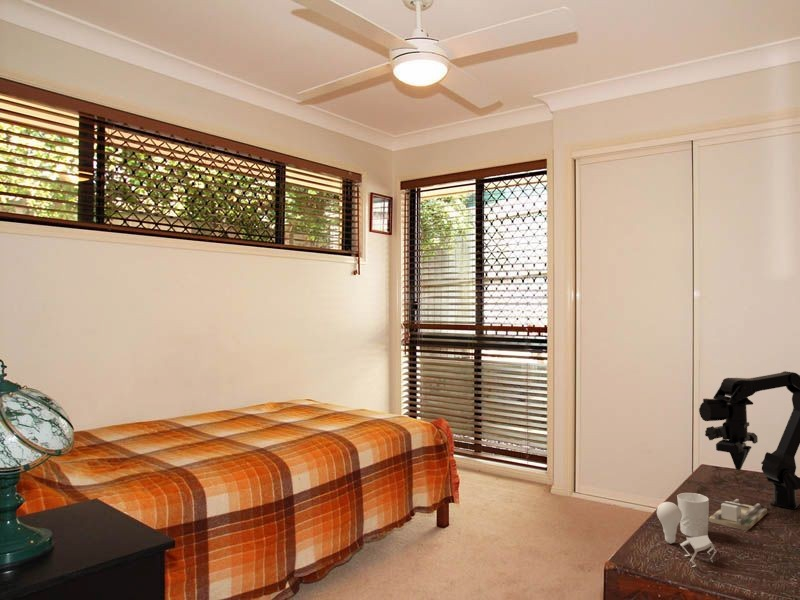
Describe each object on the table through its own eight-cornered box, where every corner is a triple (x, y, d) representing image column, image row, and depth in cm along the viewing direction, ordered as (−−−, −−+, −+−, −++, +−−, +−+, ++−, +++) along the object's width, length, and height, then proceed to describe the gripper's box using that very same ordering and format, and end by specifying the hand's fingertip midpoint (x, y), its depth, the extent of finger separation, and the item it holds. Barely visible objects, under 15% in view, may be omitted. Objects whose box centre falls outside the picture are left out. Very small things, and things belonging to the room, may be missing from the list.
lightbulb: (685, 548, 149) (684, 506, 150) (661, 547, 151) (659, 506, 151) (679, 539, 155) (677, 498, 155) (655, 538, 157) (653, 498, 157)
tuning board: (730, 505, 178) (730, 497, 178) (767, 513, 171) (766, 505, 171) (709, 521, 166) (708, 513, 166) (747, 530, 159) (746, 522, 159)
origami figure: (680, 549, 150) (679, 530, 150) (716, 554, 146) (716, 535, 146) (678, 568, 139) (678, 548, 139) (717, 575, 135) (717, 554, 135)
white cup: (709, 529, 161) (707, 494, 161) (711, 540, 154) (709, 503, 154) (678, 526, 164) (676, 491, 164) (679, 536, 157) (677, 500, 157)
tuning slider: (716, 512, 170) (716, 497, 170) (751, 520, 163) (750, 505, 163) (711, 515, 167) (711, 501, 167) (746, 524, 160) (746, 508, 160)
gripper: (718, 411, 188) (720, 458, 188) (696, 421, 175) (699, 471, 175) (757, 415, 180) (759, 464, 179) (736, 425, 167) (739, 478, 167)
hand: (738, 469), depth 175 cm, fingers closed
